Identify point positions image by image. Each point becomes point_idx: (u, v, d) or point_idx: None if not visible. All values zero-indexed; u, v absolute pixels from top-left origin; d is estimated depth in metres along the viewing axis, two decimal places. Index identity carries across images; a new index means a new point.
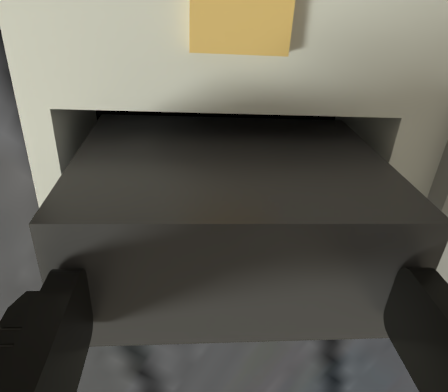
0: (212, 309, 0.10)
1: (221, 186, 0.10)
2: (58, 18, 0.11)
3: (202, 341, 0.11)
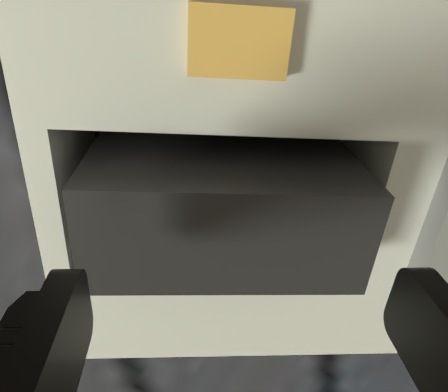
0: (203, 265, 0.13)
1: (212, 167, 0.13)
2: (57, 41, 0.11)
3: (195, 293, 0.13)
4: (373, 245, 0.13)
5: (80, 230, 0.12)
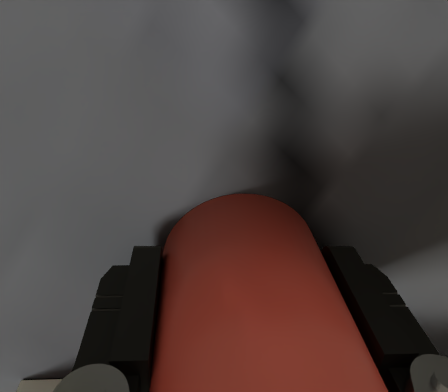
0: None
1: None
2: None
3: None
4: None
5: None
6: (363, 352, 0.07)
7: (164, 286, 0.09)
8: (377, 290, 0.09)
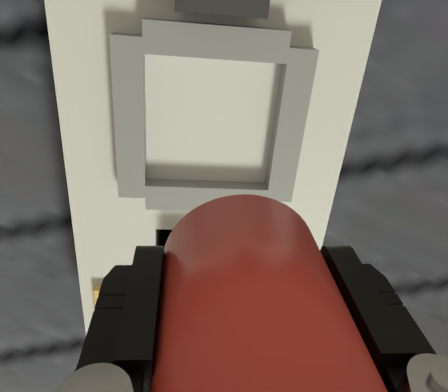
0: None
1: None
2: None
3: None
4: None
5: None
6: (363, 353, 0.07)
7: (164, 287, 0.09)
8: (374, 289, 0.09)
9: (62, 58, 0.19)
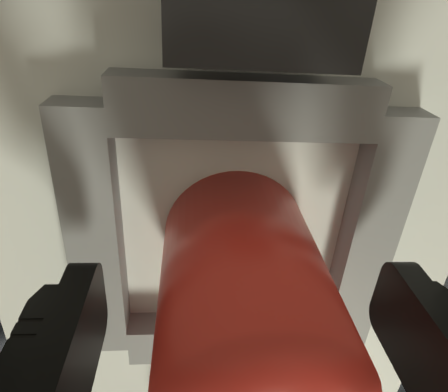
0: None
1: None
2: None
3: None
4: None
5: None
6: (334, 293, 0.08)
7: (167, 248, 0.10)
8: None
9: None
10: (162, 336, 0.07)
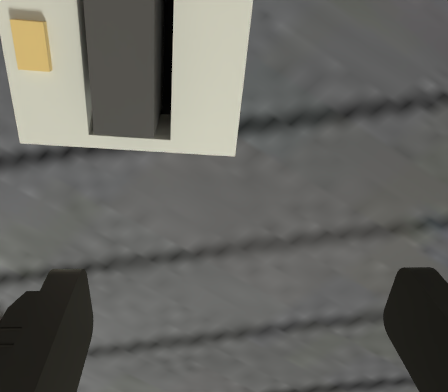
0: (133, 74, 0.24)
1: None
2: (49, 123, 0.28)
3: (152, 80, 0.24)
4: None
5: (114, 130, 0.26)
6: None
7: None
8: None
9: None
10: None
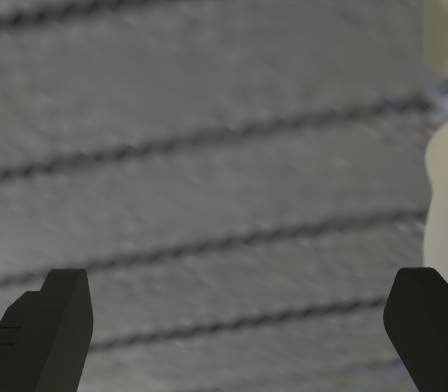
0: None
1: None
2: None
3: None
4: None
5: None
6: None
7: None
8: None
9: None
10: None
